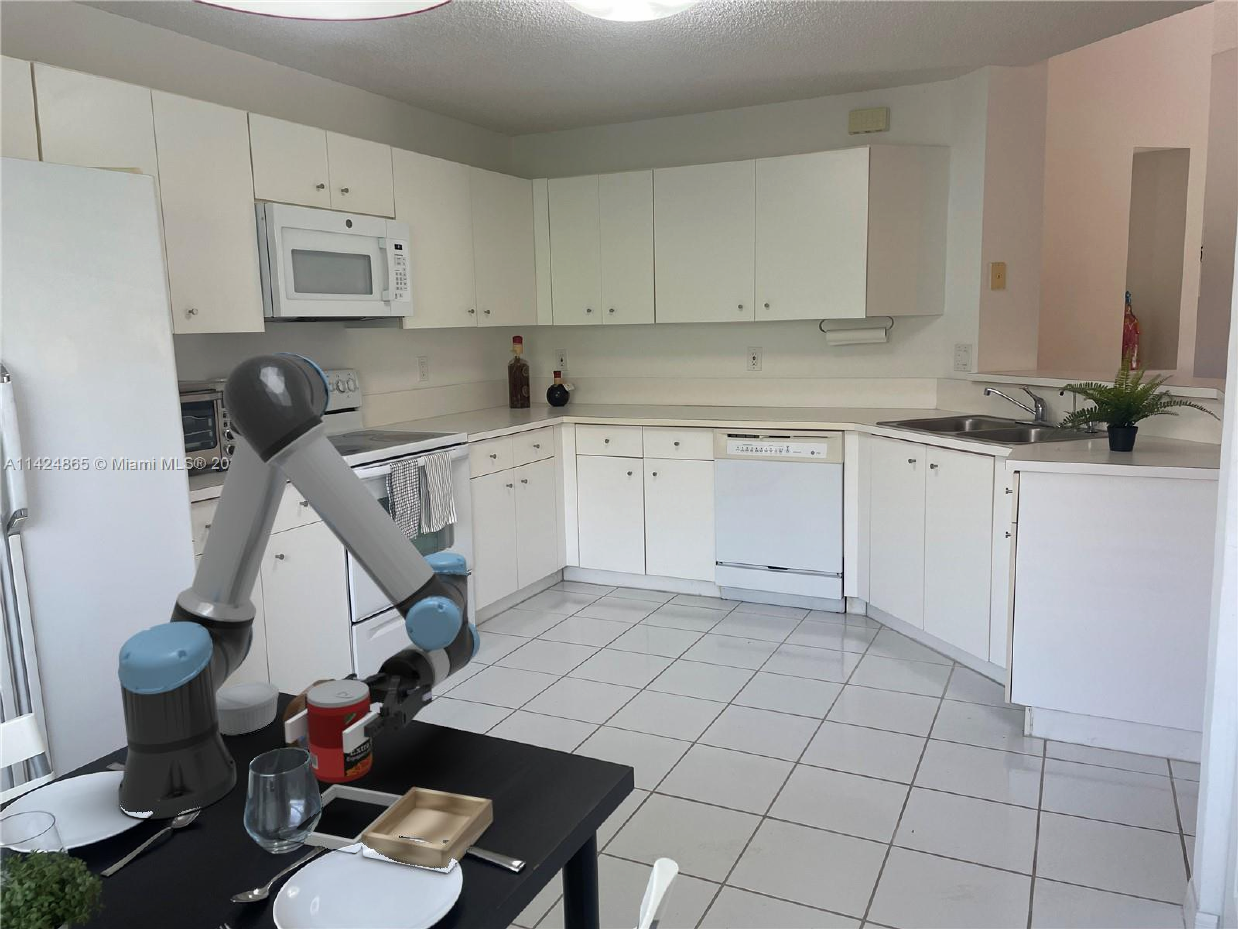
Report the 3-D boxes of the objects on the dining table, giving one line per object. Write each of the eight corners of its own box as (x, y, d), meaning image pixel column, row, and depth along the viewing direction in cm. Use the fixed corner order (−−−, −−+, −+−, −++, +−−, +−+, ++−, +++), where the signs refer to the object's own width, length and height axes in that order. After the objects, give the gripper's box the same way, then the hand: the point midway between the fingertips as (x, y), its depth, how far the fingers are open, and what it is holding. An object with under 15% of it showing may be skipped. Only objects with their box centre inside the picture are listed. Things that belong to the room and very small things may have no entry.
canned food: (355, 787, 111) (351, 705, 109) (298, 780, 112) (293, 700, 111) (383, 758, 118) (380, 681, 117) (329, 753, 120) (325, 677, 118)
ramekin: (196, 740, 142) (193, 709, 141) (225, 711, 153) (223, 682, 152) (266, 738, 142) (263, 707, 141) (290, 709, 153) (287, 680, 152)
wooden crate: (362, 856, 109) (361, 834, 108) (414, 807, 120) (413, 786, 119) (447, 873, 105) (446, 851, 104) (493, 821, 116) (492, 800, 116)
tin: (300, 760, 134) (295, 709, 133) (281, 759, 135) (277, 707, 133) (346, 718, 149) (343, 671, 147) (329, 717, 149) (326, 670, 148)
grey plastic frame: (279, 839, 113) (278, 828, 113) (335, 794, 124) (334, 784, 124) (355, 854, 109) (354, 843, 109) (406, 806, 120) (405, 796, 120)
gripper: (475, 705, 129) (388, 778, 107) (355, 687, 135) (251, 753, 114) (474, 656, 127) (386, 721, 106) (353, 640, 134) (247, 698, 113)
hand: (316, 737), depth 110 cm, fingers closed on canned food, 8 cm apart
